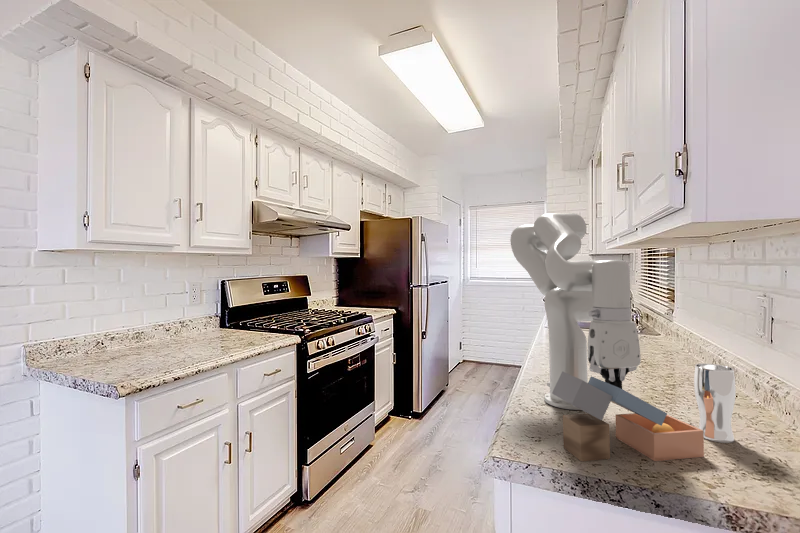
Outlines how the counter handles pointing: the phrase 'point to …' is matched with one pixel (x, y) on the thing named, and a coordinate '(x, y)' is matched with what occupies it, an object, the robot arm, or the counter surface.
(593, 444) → the pedestal
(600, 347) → the robot arm
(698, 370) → the beer glass
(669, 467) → the counter surface
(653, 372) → the counter surface
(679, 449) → the shallow terracotta crate
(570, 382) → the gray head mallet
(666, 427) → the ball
